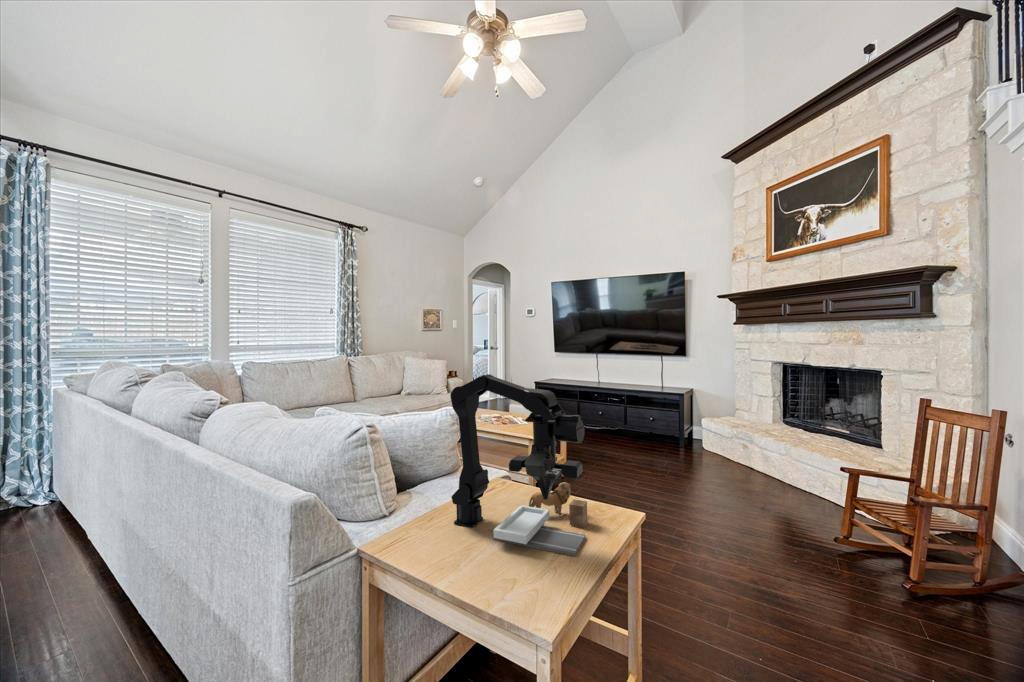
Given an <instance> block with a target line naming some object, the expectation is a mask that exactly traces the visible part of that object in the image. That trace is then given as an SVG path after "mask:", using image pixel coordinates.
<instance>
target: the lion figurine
mask: <svg viewBox="0 0 1024 682" xmlns="http://www.w3.org/2000/svg"><path fill="white" fill-rule="evenodd" d="M571 492H572V489H571V484H570V483H568V482H566V481H565V482H564V481H563V482H560V483H559V484H558V487H556V488H554V490H552V491H551V492H550V495H549V497H548V499H547V500H545V499H544V498H543V495H542V493H541V491H538V492H535V493H532V495H531V496H530V498H529V501H528V506H529V507H535V508H541V509H542V505H544V506H547V507H552V506H553V507H554V509H553V510H554V512H555V513H556V512H558V513H557V514H558V516H559V515H562V514H563V513H562V509H563V508H562V507H563V505H566V504H567V503H568V500H569V498H570V497H571V494H572V493H571Z"/></svg>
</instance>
